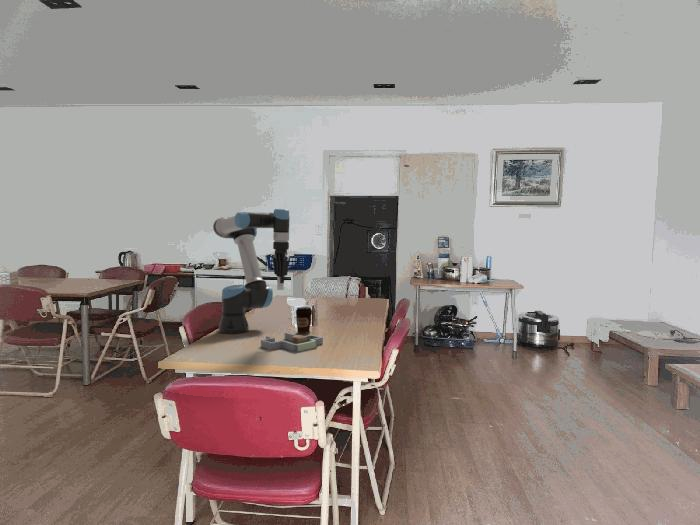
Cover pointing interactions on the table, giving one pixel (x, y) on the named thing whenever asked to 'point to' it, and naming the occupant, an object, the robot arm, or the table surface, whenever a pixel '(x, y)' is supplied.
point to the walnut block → (298, 339)
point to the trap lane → (311, 343)
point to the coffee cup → (303, 319)
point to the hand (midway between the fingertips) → (280, 289)
